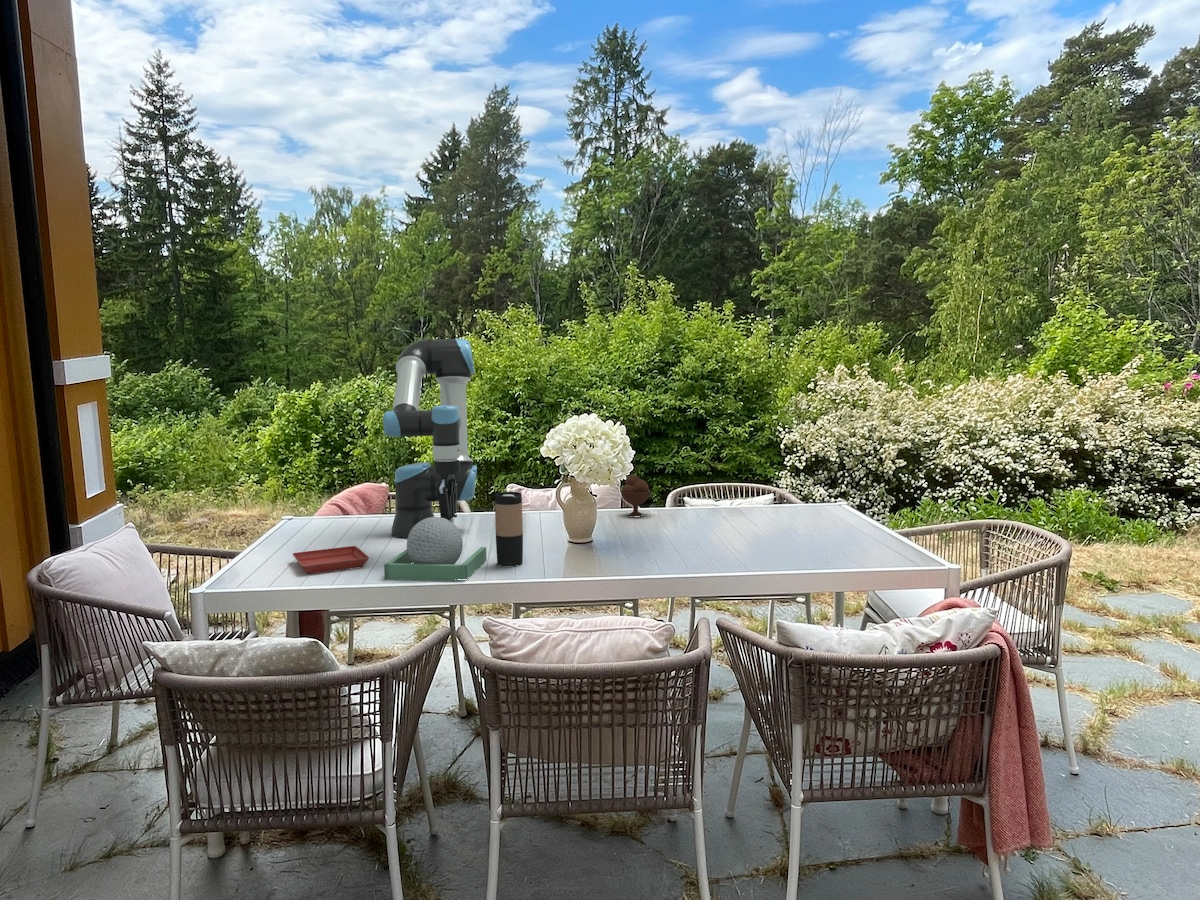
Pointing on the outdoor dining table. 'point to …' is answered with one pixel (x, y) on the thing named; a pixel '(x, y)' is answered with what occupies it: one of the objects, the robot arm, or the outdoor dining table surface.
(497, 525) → the travel mug
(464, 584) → the outdoor dining table surface
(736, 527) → the outdoor dining table surface
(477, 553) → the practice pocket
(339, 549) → the plant saucer
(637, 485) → the ice cream bowl
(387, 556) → the outdoor dining table surface
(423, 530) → the decorative ball
